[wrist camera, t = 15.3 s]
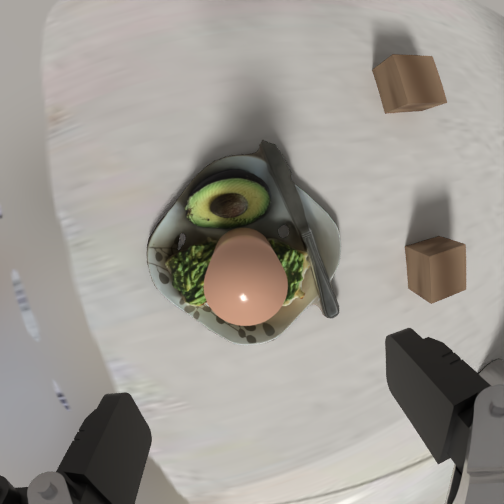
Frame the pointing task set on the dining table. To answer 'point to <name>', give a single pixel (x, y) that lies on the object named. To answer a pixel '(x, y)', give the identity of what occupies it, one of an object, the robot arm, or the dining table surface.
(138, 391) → the dining table surface
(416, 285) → the back walnut cube
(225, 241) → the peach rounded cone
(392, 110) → the front walnut cube
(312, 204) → the salad plate
